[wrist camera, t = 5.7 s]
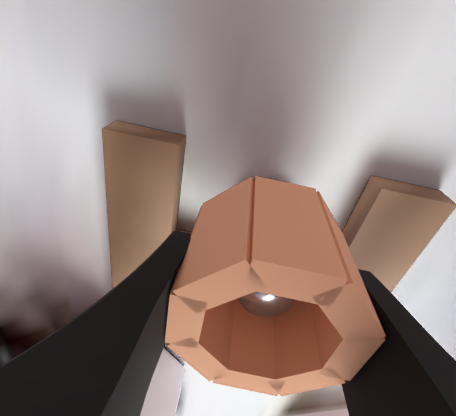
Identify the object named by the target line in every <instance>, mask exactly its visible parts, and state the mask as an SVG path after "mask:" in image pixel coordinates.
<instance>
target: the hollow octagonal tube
mask: <svg viewBox="0 0 456 416" xmlns="http://www.w3.org/2000/svg"><path fill="white" fill-rule="evenodd" d="M190 238H191V240H190V243H189V246H188V249H187V252H186V254H185V257H184V260H183V262H182V264H181V266H180V268H179V270H178V273H177V276H176V279H175V281H174V284H173V287H172V290H171V293H170V298H169V307H168V316H167V326H166V335H165V343H167V345H166V346H168V347H169V348H170V349H171V350H172V351H174V352H175V353H176V354H177V355H178V356H180V357H181V358H182V359H183V360H184V361H186V362H187V363H188V364H189V365H190V366H192V367H193V368H194V369H195V370H196V371H198V372H199V373H200V374H201V375H202V376H204V377H205V378H206V379H207V380H208V381H211V380H213V383H217V384H222V385H226V386H231V387H236V388H241V389H246V390H250V391H255V392H260V393H265V394H270V395H275V396H277V395H278V393H279V394H280V395H281V396H284V395H289V394H294V393H299V392H304V391H309V390H314V389H319V388H324V387H329V386H334V385H339V384H344V383H346V381H345V380H347V381H350V380H351V379H352V378H353V377H354V376H355V375H356V373H357V372H358V371H359V370H360V369H361V368H362V366H363V365H364V364H365V363H366V362H367V361H368V360H369V358H370V357H371V356H372V355H373V354H374V353H375V351H376V350H377V349H378V348H379V347H380V346H381V345H382V343H383V342H384V341H385V336H386V335H385V333H384V330H383V328H382V325H381V323H380V321H379V318H378V316H377V314H376V311H375V309H374V306H373V304H372V302H371V299H370V297H369V295H368V292H367V290H366V287H365V285H364V283H363V280H362V278H361V275H360V273H359V271H358V268H357V266H356V264H355V261H354V259H353V256H352V254H351V252H350V249H349V247H348V245H347V242H346V240H345V237H344V235H343V233H342V231H341V229H340V228H339V226H338V224H337V222H336V221H335V219H334V217H333V215H332V214H331V212H330V210H329V208H328V207H327V205H326V203H325V201H324V200H323V198H322V196H321V194H320V193H319V191H317V192H316V189H315V188H310V187H305V186H301V185H296V184H291V183H287V182H282V181H278V180H273V179H268V178H264V177H259V176H255V180H254V179H253V178H252V177H249V178H248V179H246V180H244V181H242V182H241V183H239V184H237V185H235V186H233V187H232V188H230V189H228V190H226V191H224V192H223V193H221V194H219V195H217V196H216V197H214V198H212V199H210V200H208V201H207V202H205V203H203V206H201V209H200V212H199V214H198V217H197V220H196V223H195V225H194V228H193V231H192V234H191V237H190ZM256 291H257V292H261V293H266V294H271V295H276V296H280V297H285V298H290V299H293V304H292V306H291V307H290V308H289V310H287V311H286V312H285V313H283V314H280V315H277V316H271V317H264V316H258V315H255V314H252V313H250V312H249V311H247V310H246V309H245V308H244V307H243V306H242V305H241V303H240V299H239V298H240V297H242V296H245V295H248V294H250V293H253V292H256Z"/></svg>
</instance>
